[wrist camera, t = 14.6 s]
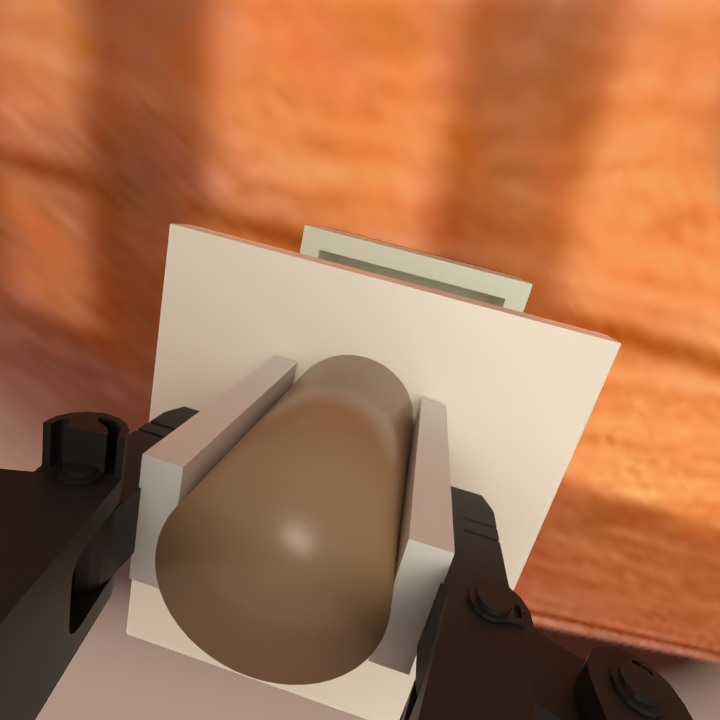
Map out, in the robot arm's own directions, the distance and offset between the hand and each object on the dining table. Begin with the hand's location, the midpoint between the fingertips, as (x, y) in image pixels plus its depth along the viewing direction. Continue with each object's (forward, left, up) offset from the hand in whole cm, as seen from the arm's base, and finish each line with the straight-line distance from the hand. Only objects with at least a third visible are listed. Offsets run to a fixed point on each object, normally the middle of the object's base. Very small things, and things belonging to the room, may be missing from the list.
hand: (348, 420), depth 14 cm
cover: (0, -4, -2) cm, 4 cm away
